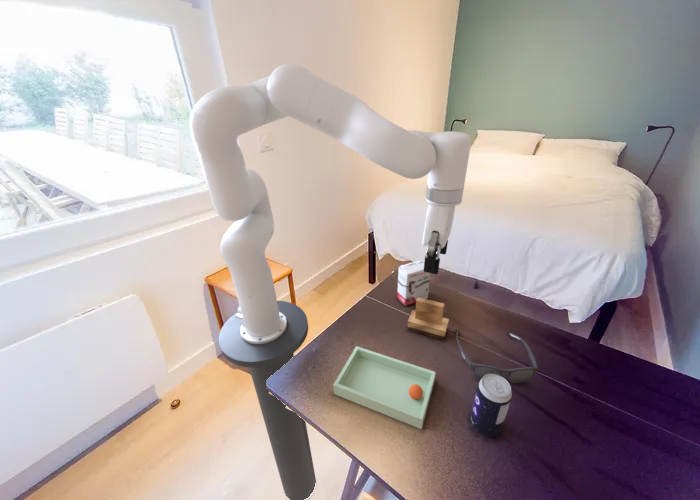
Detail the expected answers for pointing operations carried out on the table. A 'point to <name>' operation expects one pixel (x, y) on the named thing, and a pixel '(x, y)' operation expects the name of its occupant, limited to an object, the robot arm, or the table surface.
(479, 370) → the sunglasses
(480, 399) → the beverage can
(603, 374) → the table surface
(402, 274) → the ink box
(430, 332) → the brush
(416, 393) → the crumb ball
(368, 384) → the tray
